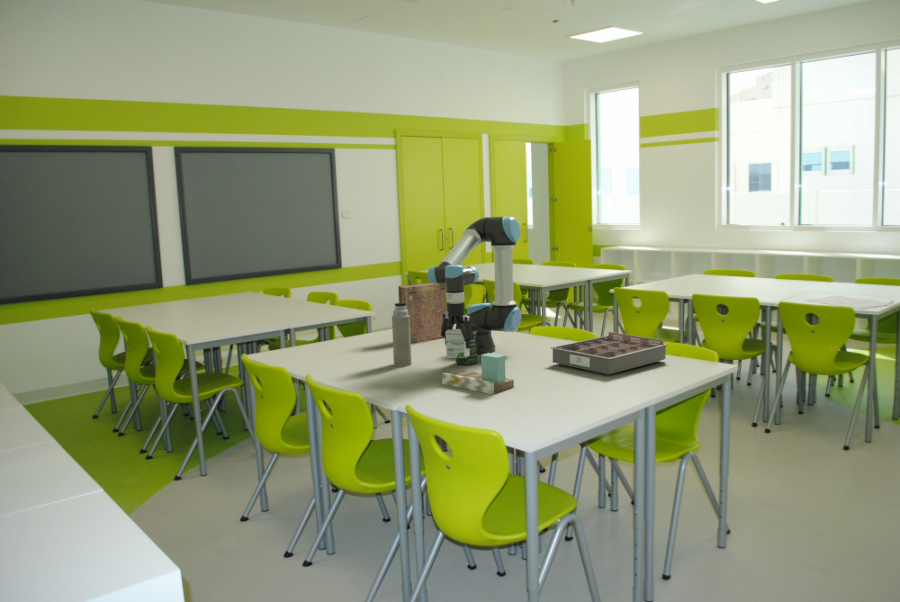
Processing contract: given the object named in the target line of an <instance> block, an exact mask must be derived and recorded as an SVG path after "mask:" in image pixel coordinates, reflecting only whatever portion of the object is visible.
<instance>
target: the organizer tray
mask: <svg viewBox="0 0 900 602" xmlns="http://www.w3.org/2000/svg"><path fill="white" fill-rule="evenodd" d="M664 341H665V340H664V339H658V338H651V337H645V336H638V335H631V334H624V333H618V332H611V331H608V335H604V336H599V337H594V338H590V339H586V340H580V341H576V342H571V343H567V344H561V345H557V346H552V347H550V349H552V363H555V364H558V365H562V366H567V367H573V368H576V369H583V370H585V371H587V370H588V371H592V372H596V373H601V374H605V375H612V374H616V373H620V372H623V371H627V370H632V369H635V368H638V367H642V366H647V365H648V364H652V363H653V364H654V363H658V362H660V361H661V362H662V361H664V359H665V360H666V351H667V350H666V349H667V346H668V344H667V343H664Z"/></svg>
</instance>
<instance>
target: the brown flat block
mask: <svg viewBox="0 0 900 602" xmlns="http://www.w3.org/2000/svg"><path fill="white" fill-rule="evenodd" d="M514 381H515V380H514V379H513V378H512V379H511V378H507V377H505V382H502V383H498V384H497V383H494V382H489V381H484V380H482V372H481V373H480V372H476V371H470V370H465V369H463V370H459V371H455V372H453V373H448V372H442V373H441V383H442V385H446V386H450V387H456V388H461V389H467V390H469V391H475V392H480V393H484V394H488V395H495V394H498V393H500V392H504V391H508V390H510V389H513V388H514V387H515V385H514Z"/></svg>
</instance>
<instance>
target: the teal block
mask: <svg viewBox="0 0 900 602" xmlns="http://www.w3.org/2000/svg"><path fill="white" fill-rule="evenodd" d="M480 357H481V358H480V359H481V360H480V362H481V363H480V364H481V365H480V366H481V374H482V380H484V381H489V382H494V383H497V384H498V383H502V382H505V378H506V355H505V354H504V355H503V354H498V353H493V352H490V353H482V354H481V355H480Z"/></svg>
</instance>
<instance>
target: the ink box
mask: <svg viewBox="0 0 900 602" xmlns="http://www.w3.org/2000/svg"><path fill="white" fill-rule="evenodd" d="M445 332H446V345H445V350H446V349H447V353H446V358H447V359H456V358H467V357H468V356H466V357H465V356H464V343H463V341H464V340H465V339H464V337H463V334H462V332H461V330H460V329H456V328H453V329H449V330H447V331H445Z"/></svg>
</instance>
